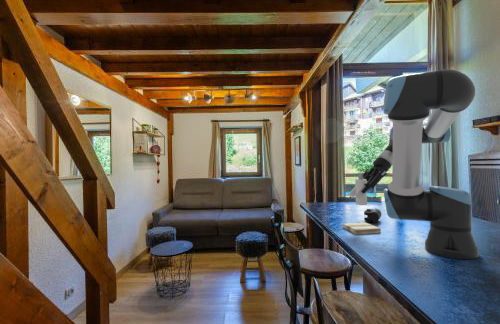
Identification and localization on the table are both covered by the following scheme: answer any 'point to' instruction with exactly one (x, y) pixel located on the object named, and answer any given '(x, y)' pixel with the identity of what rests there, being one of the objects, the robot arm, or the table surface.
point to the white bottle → (358, 186)
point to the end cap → (372, 215)
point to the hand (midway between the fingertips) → (353, 196)
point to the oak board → (361, 228)
